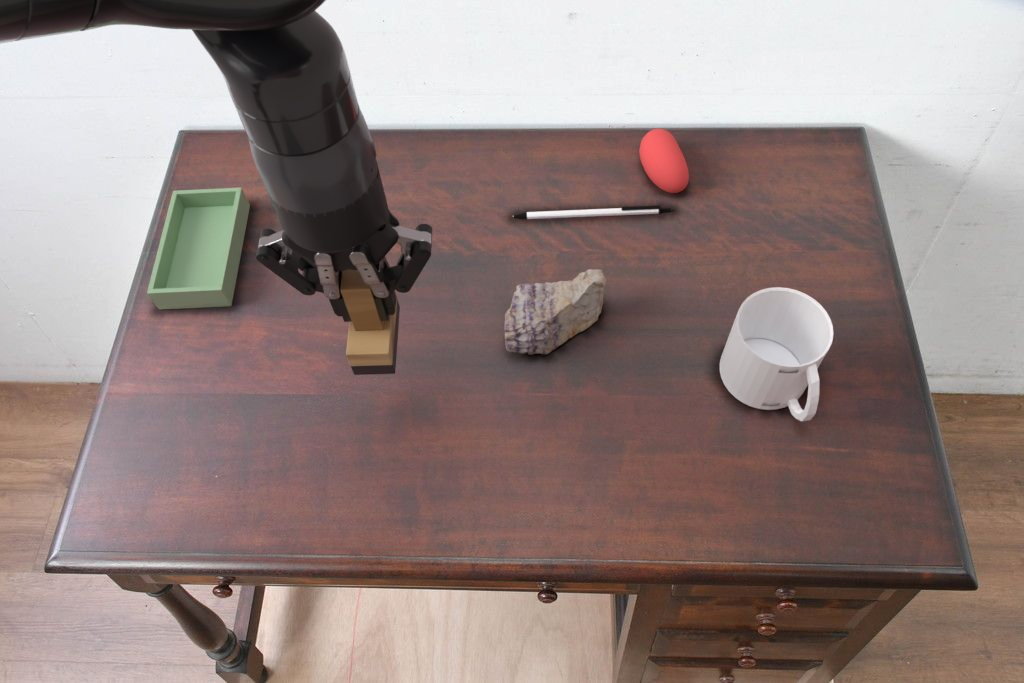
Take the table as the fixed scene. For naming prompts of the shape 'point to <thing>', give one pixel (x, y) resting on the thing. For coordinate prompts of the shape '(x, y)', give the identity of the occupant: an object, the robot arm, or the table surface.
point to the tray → (200, 249)
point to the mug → (777, 351)
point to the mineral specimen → (553, 312)
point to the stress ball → (664, 161)
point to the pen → (593, 212)
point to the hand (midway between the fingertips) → (368, 312)
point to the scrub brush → (368, 329)
